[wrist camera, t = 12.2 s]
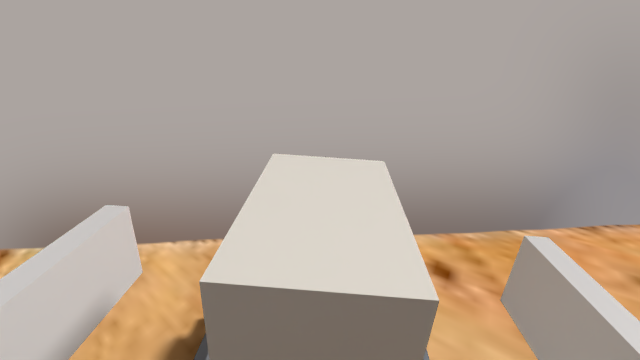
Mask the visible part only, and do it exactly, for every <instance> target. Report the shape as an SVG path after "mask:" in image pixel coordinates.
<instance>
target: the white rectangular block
mask: <svg viewBox="0 0 640 360" xmlns="http://www.w3.org/2000/svg"><path fill="white" fill-rule="evenodd" d="M199 282H200V290H201V298H202V306H203V314H204V322H205V330H206V338H207V345H208V353H209V360H423V358H424V355H425V351H426V347H427V344H428V340H429V336H430V333H431V329H432V325H433V322H434V318H435V314H436V311H437V307H438V303H439V299H438V296H437V294H436V291H435V289H434V286H433V284H432V281H431V279H430V276H429V273H428V271H427V268H426V266H425V263H424V261H423V258H422V256H421V253H420V251H419V248H418V246H417V243H416V241H415V238H414V236H413V233H412V230H411V228H410V225H409V223H408V220H407V218H406V216H405V213H404V210H403V208H402V205H401V203H400V200H399V198H398V195H397V193H396V190H395V188H394V185H393V182H392V180H391V177H390V175H389V173H388V170H387V167H386V165H385V162H384V161H371V160H357V159H343V158H328V157H313V156H300V155H284V154H273V155H272V157H271V159H270V161H269V162H268V164H267V166H266V167H265V169H264V171H263V173H262V174H261V176H260V178H259V180H258V181H257V183H256V185H255V187H254V188H253V190H252V192H251V193H250V195H249V197H248V199H247V200H246V202H245V204H244V205H243V207H242V209H241V211H240V212H239V214H238V216H237V218H236V219H235V221H234V223H233V225H232V226H231V228H230V230H229V231H228V233H227V235H226V237H225V238H224V240H223V242H222V243H221V245H220V247H219V249H218V250H217V252H216V254H215V256H214V257H213V259H212V261H211V262H210V264H209V266H208V268H207V269H206V271H205V273H204V275H203V276H202V278H201V280H200V281H199Z"/></svg>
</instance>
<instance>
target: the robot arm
mask: <svg viewBox="0 0 640 360" xmlns="http://www.w3.org/2000/svg"><path fill="white" fill-rule="evenodd" d="M142 272H143V271H142V267H141V262H140V257H139V253H138V248H137V243H136V239H135V234H134V229H133V225H132V220H131V215H130V211H129V207H125V206H113V205H106V206H104V207H103V208H101V209H100V210H99V211H97V212H96V213H94V214H93V215H91V216H90V217H88V218H87V219H86V220H84V221H83V222H81V223H80V224H78V225H77V226H76V227H74V228H73V229H71V230H70V231H68V232H67V233H66V234H65V235H63V236H61V237H60V238H58V239H57V240H56V241H54V242H53V243H52V244H50V245H48V246H47V247H46V248H44V249H43V250H41V251H40V252H38V253H37V254H36V255H34V256H33V257H31V258H30V259H28V260H27V261H26V262H24V263H23V264H21V265H20V266H18V267H17V268H16V269H14V270H13V271H11V272H10V273H8V274H7V275H6V276H4V277H3V278H1V279H0V360H68V359H69V358H70V357H71V356H72V355H73V354H74V352H75V351H76V350H77V349H78V348H79V346H80V345H81V344H82V343H83V342H84V341H85V339H86V338H87V337H88V336H89V335H90V334H91V332H92V331H93V330H94V329H95V328H96V326H97V325H98V324H99V323H100V322H101V321H102V319H103V318H104V317H105V316H106V315H107V314H108V312H109V311H110V310H111V309H112V308H113V306H114V305H115V304H116V303H117V302H118V301H119V299H120V298H121V297H122V296H123V295H124V294H125V292H126V291H127V290H128V289H129V288H130V286H131V285H132V284H133V283H134V282H135V281H136V279H137V278H138V277H139V276H140V275H141V273H142ZM501 302H502V304H503V305H504V307H505V308H506V310H507V311H508V313H509V315H510V316H511V318H512V319H513V321H514V322H515V324H516V326H517V327H518V329H519V330H520V332H521V333H522V335H523V337H524V338H525V340H526V341H527V343H528V344H529V346H530V348H531V349H532V351H533V352H534V354H535V355H536V357H537V359H538V360H640V321H639V320H637V319H636V318H635V317H634V316H633V315H632V314H631V313H630V312H629V311H628V310H627V309H626V308H624V307H623V306H622V305H621V304H620V303H619V302H618V301H617V300H616V299H615V298H614V297H612V296H611V295H610V294H609V293H608V292H607V291H606V290H605V289H604V288H603V287H602V286H601V285H599V284H598V283H597V282H596V281H595V280H594V279H593V278H592V277H591V276H590V275H589V274H587V273H586V272H585V271H584V270H583V269H582V268H581V267H580V266H579V265H578V264H577V263H575V262H574V261H573V260H572V259H571V258H570V257H569V256H568V255H567V254H566V253H565V252H564V251H562V250H561V249H560V248H559V247H558V246H557V245H556V244H555V243H554V242H553V241H552V240H550V239H549V238H548V237H534V236H524V238H523V241H522V244H521V246H520V249H519V252H518V254H517V257H516V260H515V262H514V265H513V268H512V270H511V273H510V276H509V278H508V281H507V284H506V286H505V289H504V292H503V294H502V297H501Z"/></svg>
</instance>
